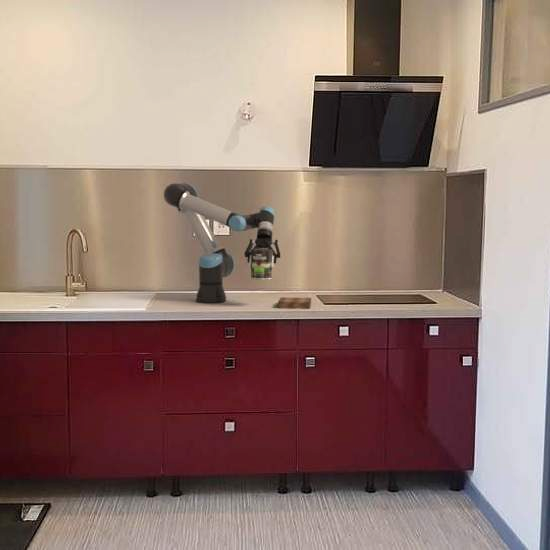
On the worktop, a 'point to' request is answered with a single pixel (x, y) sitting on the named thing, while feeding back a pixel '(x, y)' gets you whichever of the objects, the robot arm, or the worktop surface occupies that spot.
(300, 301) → the walnut board
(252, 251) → the coffee can
